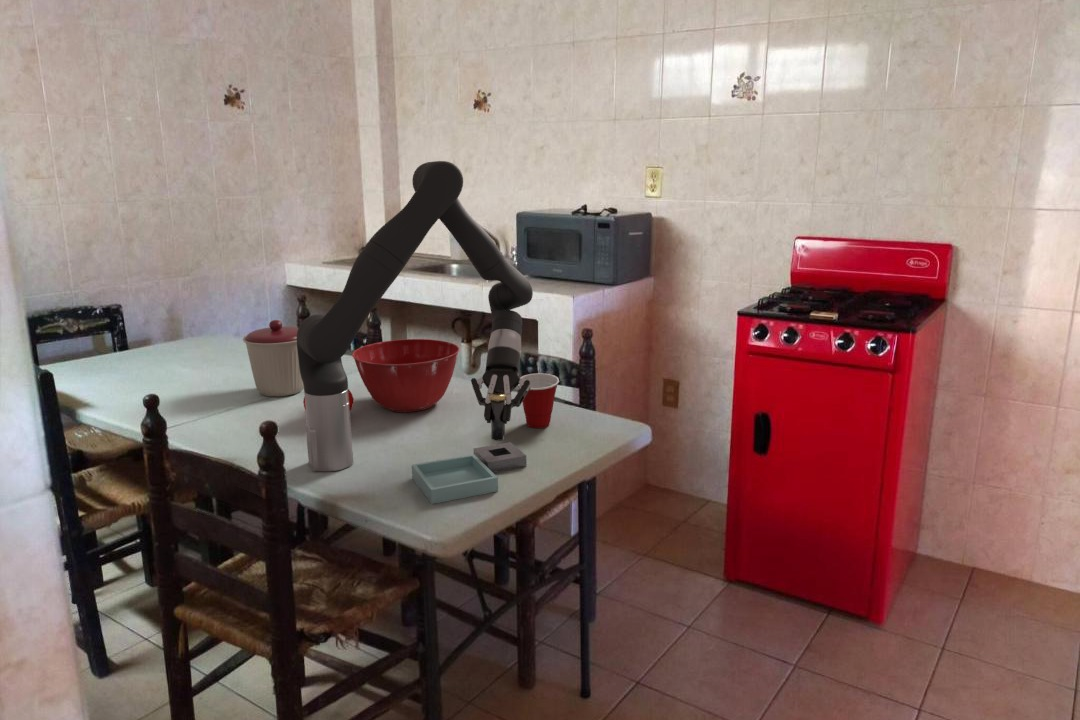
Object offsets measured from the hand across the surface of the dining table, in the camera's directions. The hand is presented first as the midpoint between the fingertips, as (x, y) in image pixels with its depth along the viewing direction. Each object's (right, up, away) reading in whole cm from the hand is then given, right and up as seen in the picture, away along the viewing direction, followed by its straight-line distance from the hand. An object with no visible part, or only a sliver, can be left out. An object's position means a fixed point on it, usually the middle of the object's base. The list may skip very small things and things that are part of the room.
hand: (496, 421), depth 170 cm
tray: (-9, -13, -7) cm, 17 cm away
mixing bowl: (-27, +1, +45) cm, 52 cm away
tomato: (-45, -2, +33) cm, 55 cm away
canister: (-65, +4, +56) cm, 86 cm away
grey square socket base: (0, -9, +5) cm, 11 cm away
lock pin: (0, -4, +3) cm, 5 cm away
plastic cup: (+9, -3, +29) cm, 30 cm away
